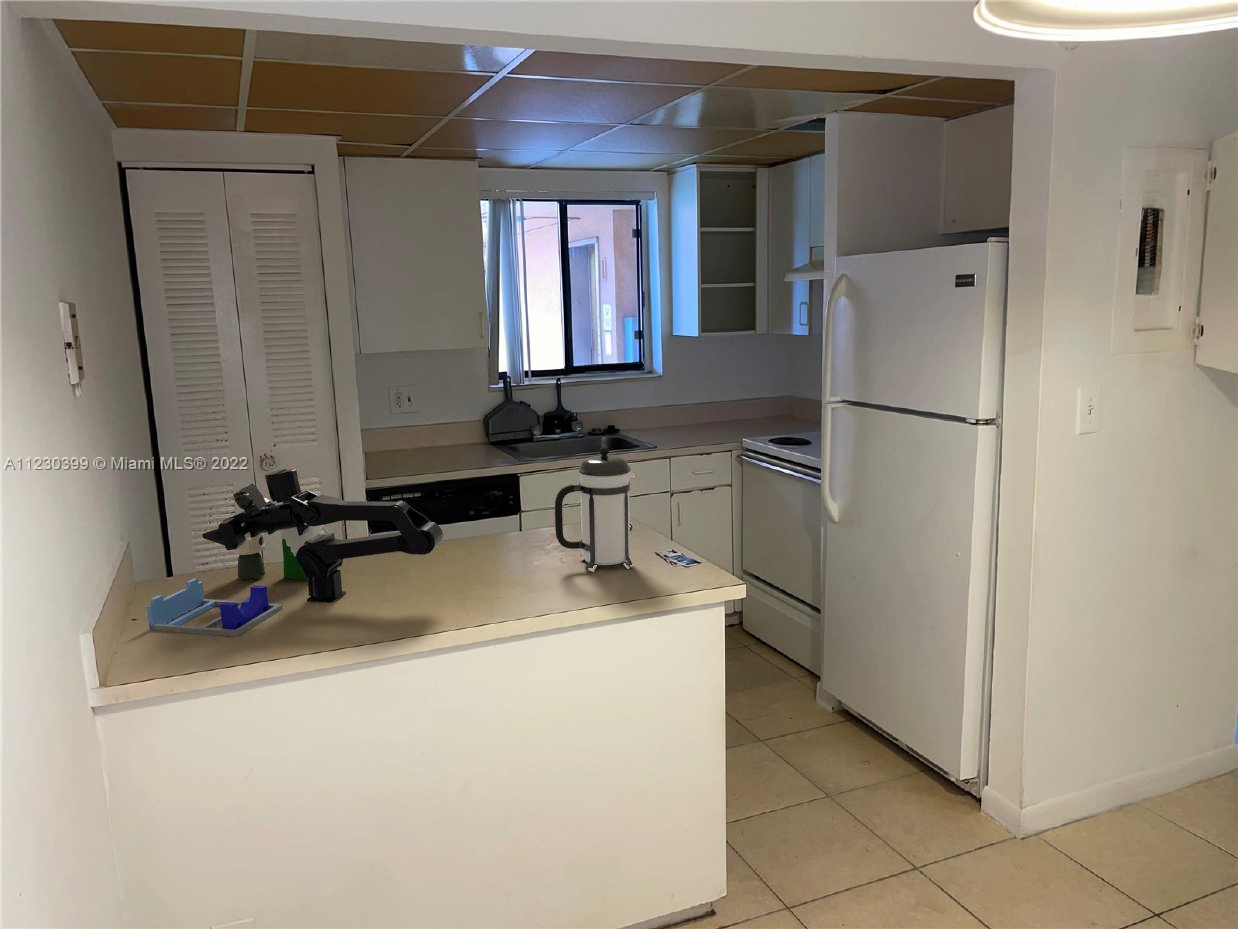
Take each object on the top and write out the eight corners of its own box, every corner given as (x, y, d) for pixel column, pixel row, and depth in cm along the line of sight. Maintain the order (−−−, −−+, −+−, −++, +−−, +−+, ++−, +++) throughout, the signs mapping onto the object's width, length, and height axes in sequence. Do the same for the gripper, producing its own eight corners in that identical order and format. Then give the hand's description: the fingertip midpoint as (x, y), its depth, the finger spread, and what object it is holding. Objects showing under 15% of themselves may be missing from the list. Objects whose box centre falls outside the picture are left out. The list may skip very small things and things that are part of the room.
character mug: (269, 581, 213) (264, 529, 210) (237, 586, 210) (231, 533, 207) (265, 569, 222) (260, 519, 220) (234, 573, 219) (229, 522, 217)
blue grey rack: (282, 608, 194) (280, 581, 193) (237, 636, 179) (234, 607, 178) (200, 602, 199) (198, 576, 197) (149, 629, 183) (146, 601, 182)
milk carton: (301, 568, 223) (294, 490, 219) (331, 571, 220) (325, 492, 216) (277, 579, 214) (270, 498, 211) (309, 582, 212) (302, 501, 208)
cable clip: (250, 611, 194) (248, 584, 193) (269, 612, 193) (266, 585, 192) (216, 631, 182) (213, 604, 181) (235, 633, 181) (232, 605, 180)
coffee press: (597, 551, 233) (594, 439, 227) (647, 561, 224) (646, 445, 218) (554, 569, 219) (551, 449, 213) (606, 580, 210) (604, 456, 204)
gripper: (285, 471, 205) (223, 483, 207) (246, 496, 187) (179, 509, 189) (299, 516, 208) (238, 527, 210) (262, 545, 190) (195, 557, 192)
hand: (213, 529), depth 200 cm, fingers open, 9 cm apart
